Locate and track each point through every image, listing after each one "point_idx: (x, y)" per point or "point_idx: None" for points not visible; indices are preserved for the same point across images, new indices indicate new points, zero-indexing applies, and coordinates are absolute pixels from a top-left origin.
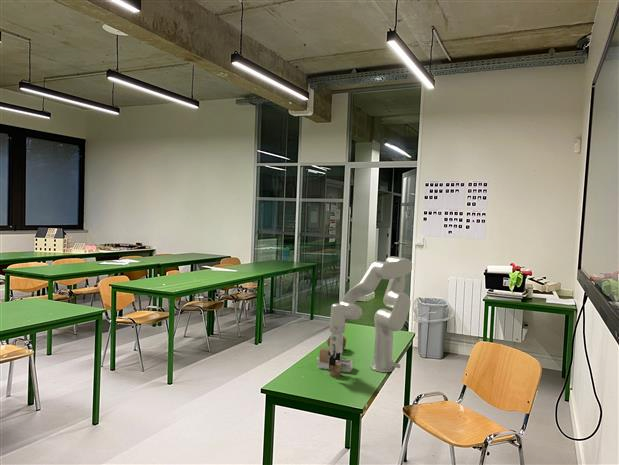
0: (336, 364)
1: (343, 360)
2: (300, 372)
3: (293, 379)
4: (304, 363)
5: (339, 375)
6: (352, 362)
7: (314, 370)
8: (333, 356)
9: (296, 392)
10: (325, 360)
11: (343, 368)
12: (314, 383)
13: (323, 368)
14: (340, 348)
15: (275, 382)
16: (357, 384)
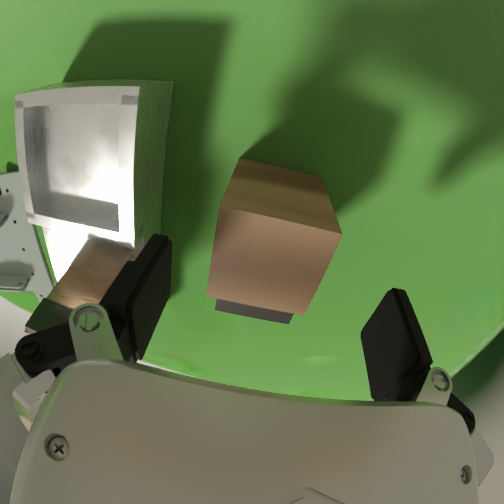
0: (308, 264)
1: (36, 174)
2: (262, 367)
3: (355, 377)
4: None
5: (298, 174)
6: (43, 88)
7: (211, 322)
8: (456, 398)
9: (471, 349)
10: None
11: (155, 147)
12: (416, 315)
13: None
14: (388, 482)
15: None
16: (454, 53)
